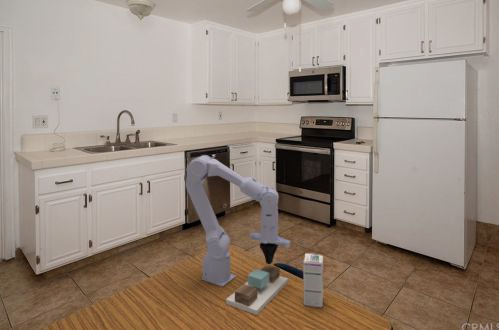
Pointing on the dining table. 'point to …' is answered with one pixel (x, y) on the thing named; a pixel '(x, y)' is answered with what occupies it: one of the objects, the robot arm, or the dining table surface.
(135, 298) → the dining table surface
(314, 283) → the syrup box
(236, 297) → the brown ledged cube
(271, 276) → the far walnut button
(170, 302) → the dining table surface
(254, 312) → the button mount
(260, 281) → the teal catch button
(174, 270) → the dining table surface
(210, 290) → the dining table surface
